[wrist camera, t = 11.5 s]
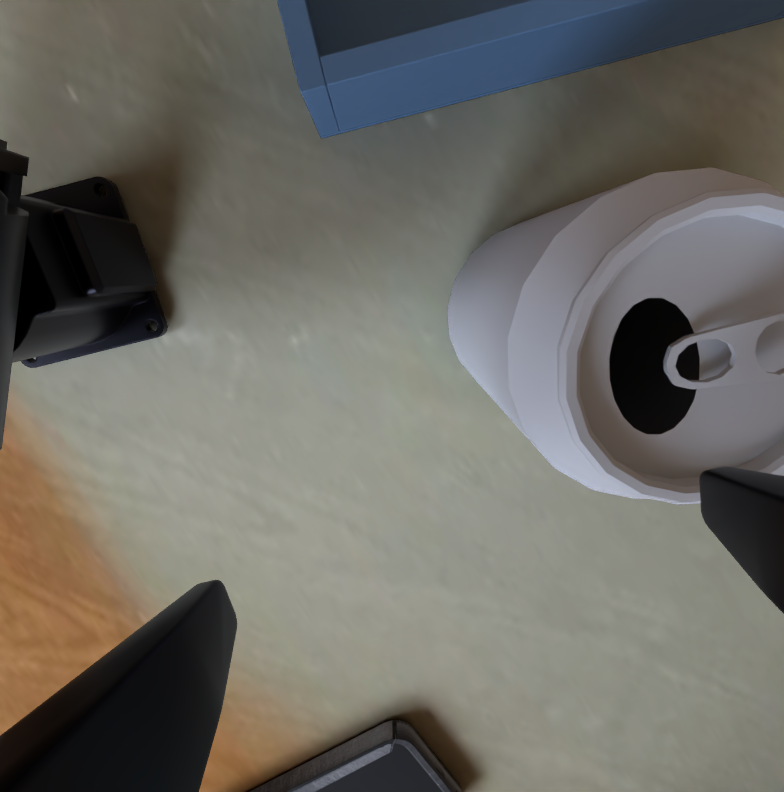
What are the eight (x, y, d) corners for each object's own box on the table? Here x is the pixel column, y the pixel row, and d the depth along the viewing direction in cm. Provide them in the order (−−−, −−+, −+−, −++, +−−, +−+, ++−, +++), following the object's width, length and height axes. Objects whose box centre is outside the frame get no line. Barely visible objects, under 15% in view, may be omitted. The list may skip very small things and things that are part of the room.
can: (427, 247, 19) (496, 207, 8) (601, 202, 19) (943, 90, 7) (463, 410, 21) (561, 573, 10) (621, 371, 21) (917, 491, 9)
